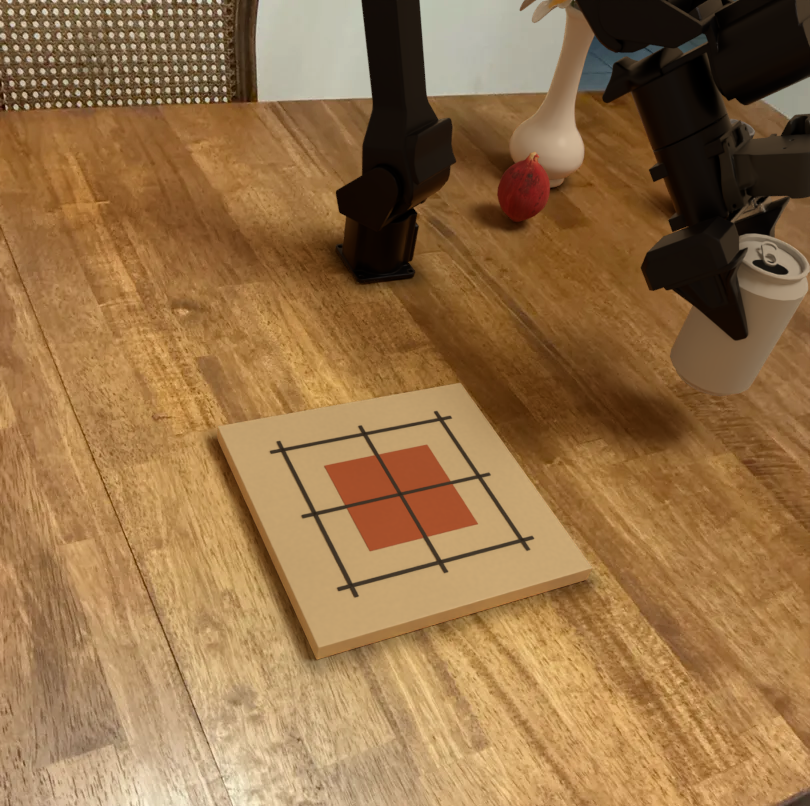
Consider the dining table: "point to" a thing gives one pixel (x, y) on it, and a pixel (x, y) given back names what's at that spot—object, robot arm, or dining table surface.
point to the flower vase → (557, 101)
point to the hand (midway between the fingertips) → (756, 318)
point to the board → (395, 515)
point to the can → (765, 314)
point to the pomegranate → (524, 189)
